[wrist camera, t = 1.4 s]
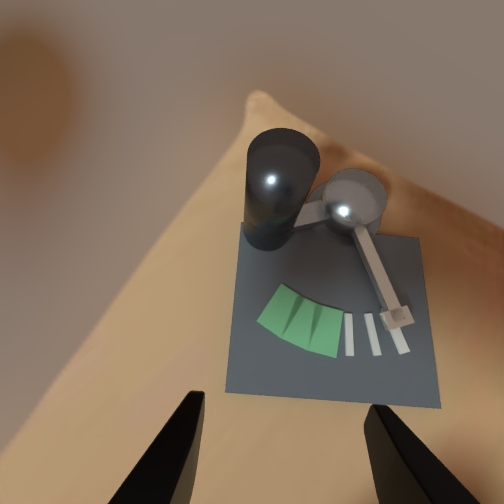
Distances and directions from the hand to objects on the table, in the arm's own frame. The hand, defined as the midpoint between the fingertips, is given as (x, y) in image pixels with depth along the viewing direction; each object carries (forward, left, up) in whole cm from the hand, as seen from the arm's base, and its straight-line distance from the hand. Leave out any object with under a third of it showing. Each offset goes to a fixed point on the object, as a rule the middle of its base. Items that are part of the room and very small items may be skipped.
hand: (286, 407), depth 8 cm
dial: (+8, -4, -11) cm, 15 cm away
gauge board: (+7, -5, -13) cm, 15 cm away
